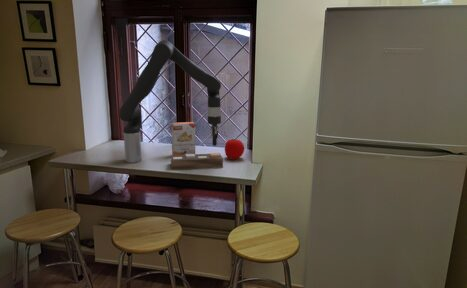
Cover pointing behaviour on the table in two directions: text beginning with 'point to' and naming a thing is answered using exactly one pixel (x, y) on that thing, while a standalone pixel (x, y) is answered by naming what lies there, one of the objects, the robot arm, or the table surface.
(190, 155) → the grey key
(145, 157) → the table surface
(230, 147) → the red apple
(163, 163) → the table surface
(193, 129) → the cracker box
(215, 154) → the terracotta key
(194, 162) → the brown long block
